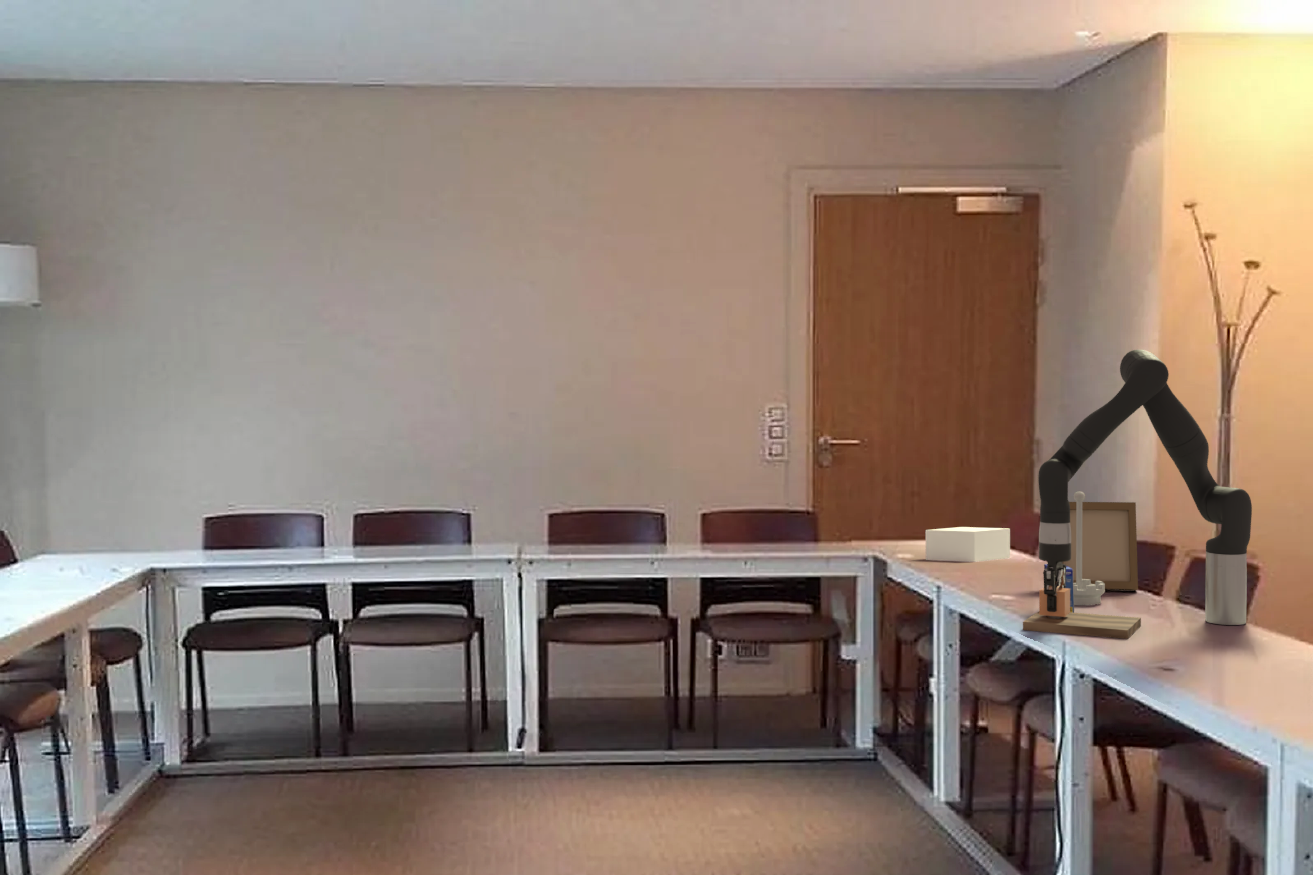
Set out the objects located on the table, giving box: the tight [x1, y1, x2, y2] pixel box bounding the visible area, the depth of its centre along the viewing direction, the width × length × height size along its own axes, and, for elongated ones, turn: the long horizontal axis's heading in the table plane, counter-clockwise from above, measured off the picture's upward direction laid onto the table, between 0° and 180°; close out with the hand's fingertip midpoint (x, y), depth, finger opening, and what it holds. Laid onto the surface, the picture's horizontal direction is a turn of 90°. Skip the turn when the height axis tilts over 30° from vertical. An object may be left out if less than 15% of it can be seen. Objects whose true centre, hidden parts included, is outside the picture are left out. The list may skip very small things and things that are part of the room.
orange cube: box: [1038, 587, 1070, 617], centre depth 316 cm, size 6×6×6 cm
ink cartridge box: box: [1043, 563, 1075, 613], centre depth 333 cm, size 10×6×14 cm, turn 177°
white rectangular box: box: [925, 526, 1011, 563], centre depth 437 cm, size 14×29×10 cm, turn 94°
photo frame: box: [1063, 501, 1139, 592], centre depth 373 cm, size 15×22×25 cm
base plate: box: [1022, 610, 1142, 640], centre depth 313 cm, size 18×24×6 cm
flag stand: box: [1073, 491, 1106, 606], centre depth 350 cm, size 13×13×30 cm
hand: (1054, 609), depth 316 cm, fingers closed on orange cube, 5 cm apart
